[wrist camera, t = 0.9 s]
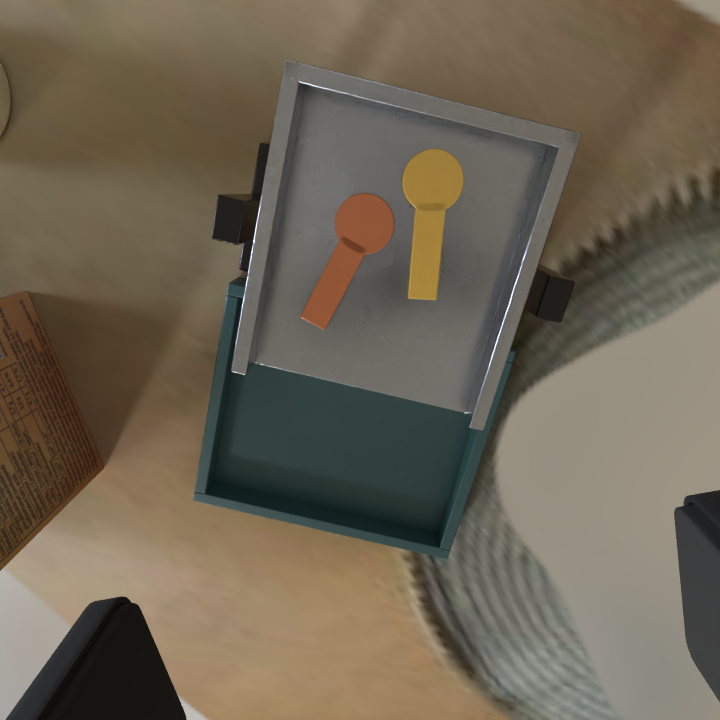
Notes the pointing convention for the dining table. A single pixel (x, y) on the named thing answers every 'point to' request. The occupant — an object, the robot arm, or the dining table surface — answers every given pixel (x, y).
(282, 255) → the key dish
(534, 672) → the dining table surface
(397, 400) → the tray
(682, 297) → the dining table surface
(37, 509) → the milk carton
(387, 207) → the copper key
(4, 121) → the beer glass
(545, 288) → the dish cradle
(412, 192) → the brass key
